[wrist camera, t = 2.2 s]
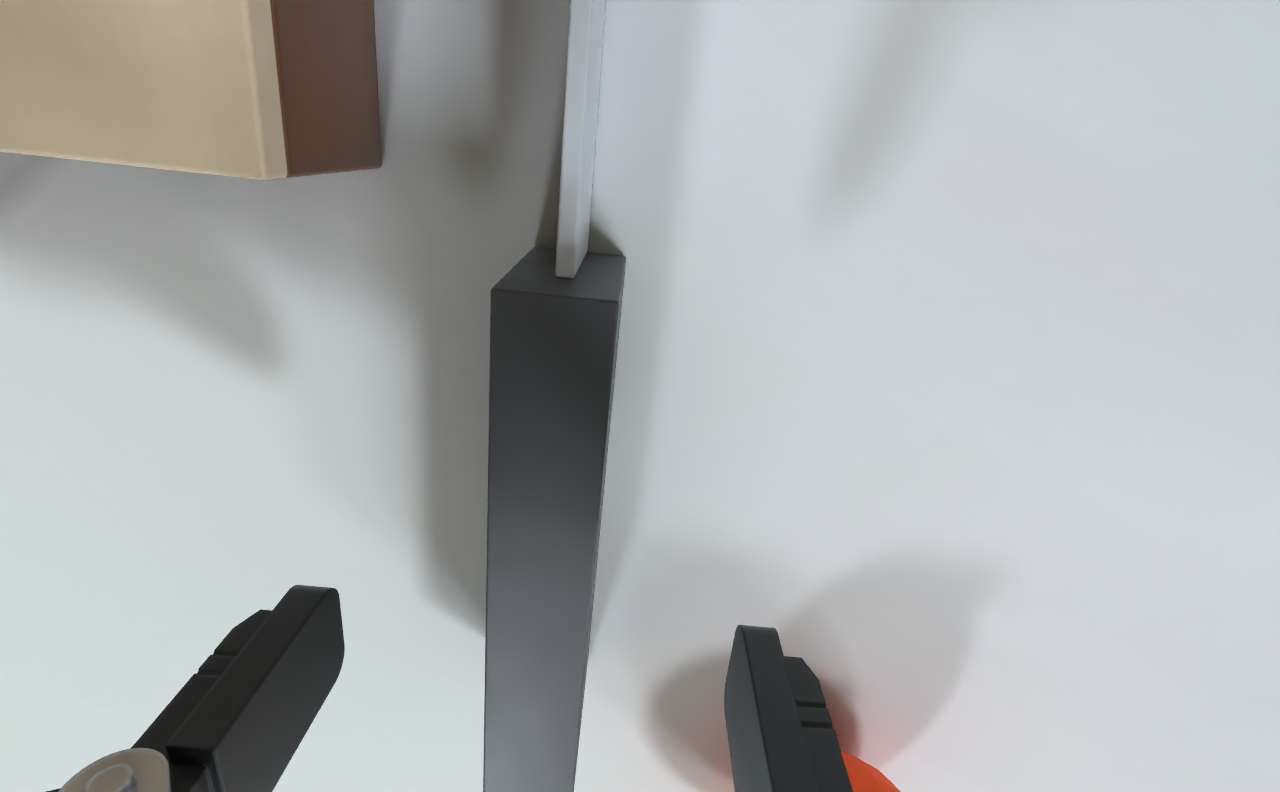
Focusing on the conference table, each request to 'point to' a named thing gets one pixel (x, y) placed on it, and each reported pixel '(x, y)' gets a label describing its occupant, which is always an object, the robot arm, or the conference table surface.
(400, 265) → the conference table surface
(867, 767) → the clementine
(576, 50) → the knife
